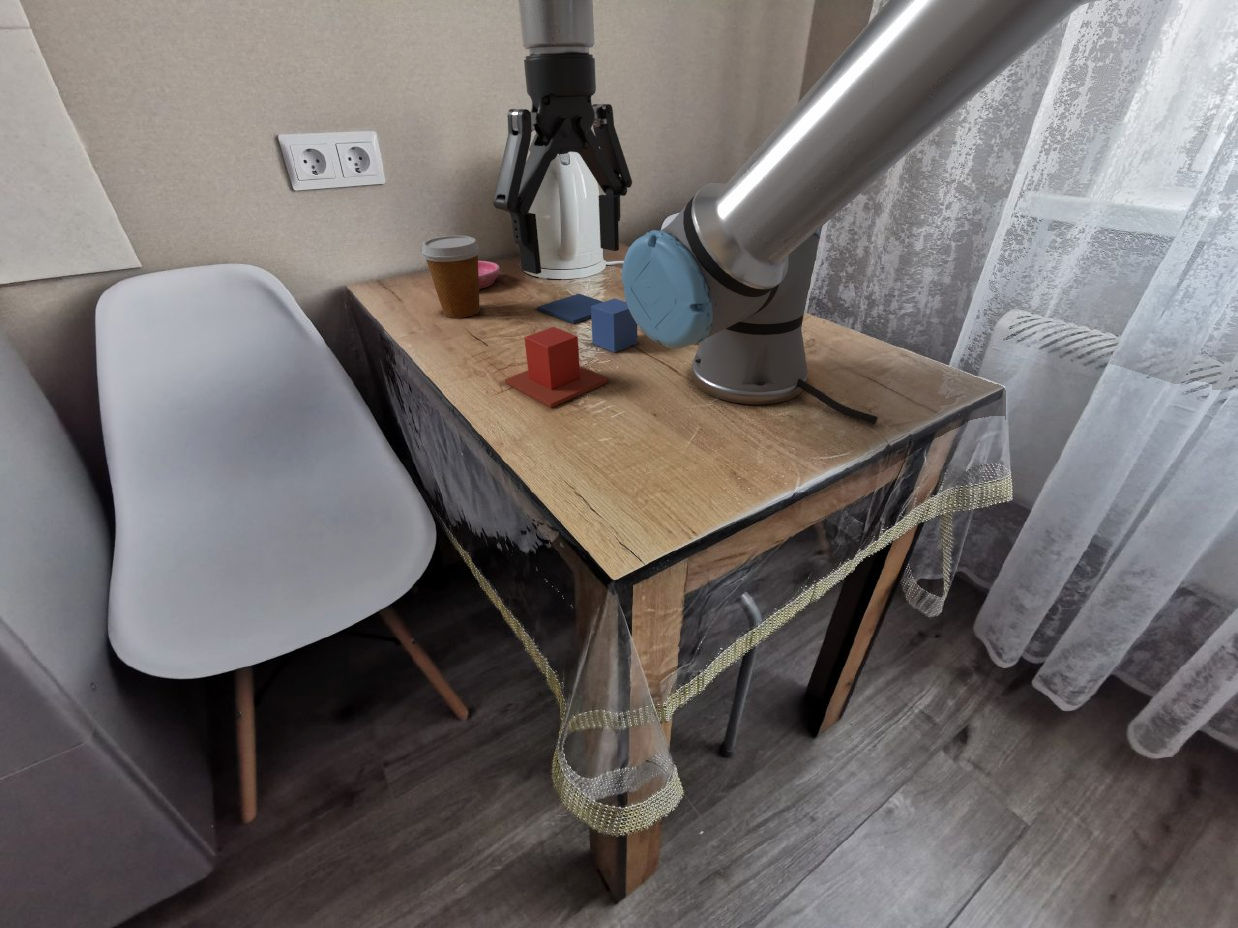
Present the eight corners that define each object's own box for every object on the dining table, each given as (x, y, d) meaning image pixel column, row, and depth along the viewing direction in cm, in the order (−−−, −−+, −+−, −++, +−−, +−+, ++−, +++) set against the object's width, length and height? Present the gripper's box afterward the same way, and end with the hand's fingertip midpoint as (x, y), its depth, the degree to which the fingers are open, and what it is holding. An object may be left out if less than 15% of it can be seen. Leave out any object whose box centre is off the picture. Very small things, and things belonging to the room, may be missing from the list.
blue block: (637, 343, 87) (637, 305, 84) (614, 352, 84) (613, 314, 81) (615, 334, 90) (614, 298, 87) (592, 343, 87) (590, 306, 84)
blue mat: (616, 309, 100) (615, 305, 100) (573, 324, 94) (573, 320, 94) (579, 296, 106) (579, 293, 105) (537, 309, 100) (537, 306, 100)
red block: (580, 378, 76) (578, 336, 73) (551, 390, 73) (547, 347, 70) (557, 367, 79) (553, 326, 76) (528, 378, 76) (523, 336, 73)
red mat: (608, 382, 76) (608, 378, 76) (551, 408, 70) (550, 404, 70) (561, 361, 82) (561, 357, 82) (505, 383, 76) (504, 379, 76)
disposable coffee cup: (482, 321, 96) (471, 248, 89) (427, 321, 96) (411, 249, 89) (493, 302, 103) (484, 234, 97) (442, 303, 104) (429, 235, 97)
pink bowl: (445, 275, 118) (442, 260, 116) (504, 274, 118) (502, 258, 117) (433, 294, 108) (429, 278, 106) (497, 292, 108) (495, 276, 106)
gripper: (613, 55, 68) (617, 237, 80) (436, 52, 54) (473, 276, 66) (661, 52, 64) (658, 245, 76) (482, 48, 49) (513, 289, 61)
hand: (572, 260), depth 71 cm, fingers open, 13 cm apart
